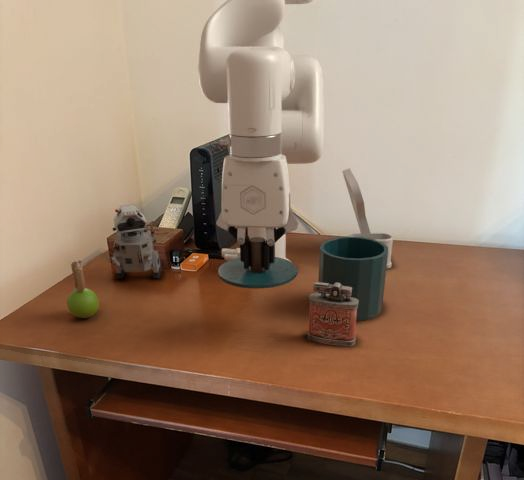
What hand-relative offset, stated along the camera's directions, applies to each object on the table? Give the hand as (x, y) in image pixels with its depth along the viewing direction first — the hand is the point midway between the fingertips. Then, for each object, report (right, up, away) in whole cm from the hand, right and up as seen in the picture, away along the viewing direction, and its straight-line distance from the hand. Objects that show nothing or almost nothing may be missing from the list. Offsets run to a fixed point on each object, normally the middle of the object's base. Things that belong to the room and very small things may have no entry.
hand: (257, 265), depth 88 cm
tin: (+17, -6, +14) cm, 22 cm away
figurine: (-25, +1, +26) cm, 36 cm away
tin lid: (0, -1, +1) cm, 1 cm away
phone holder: (+24, +8, +37) cm, 44 cm away
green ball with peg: (-31, -8, +11) cm, 34 cm away
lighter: (+12, -12, +3) cm, 17 cm away
